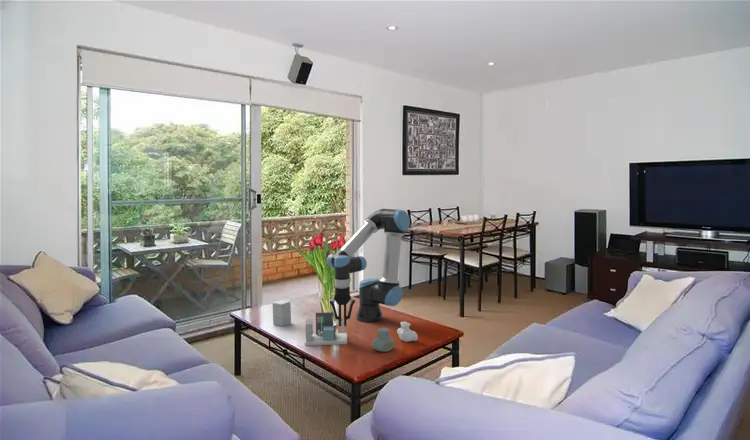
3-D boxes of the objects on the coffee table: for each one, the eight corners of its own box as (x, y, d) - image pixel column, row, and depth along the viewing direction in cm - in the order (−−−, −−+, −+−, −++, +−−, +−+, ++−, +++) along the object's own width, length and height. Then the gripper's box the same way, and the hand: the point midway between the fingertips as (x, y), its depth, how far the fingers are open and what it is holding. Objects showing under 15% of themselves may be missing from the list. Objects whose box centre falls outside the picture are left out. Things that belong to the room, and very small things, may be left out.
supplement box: (291, 323, 261) (291, 301, 259) (282, 326, 254) (281, 304, 253) (281, 320, 265) (281, 299, 263) (272, 324, 258) (272, 302, 257)
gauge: (335, 333, 237) (335, 316, 236) (335, 339, 229) (335, 321, 228) (318, 334, 236) (318, 316, 236) (318, 340, 228) (317, 321, 227)
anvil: (312, 335, 235) (312, 318, 234) (312, 341, 227) (311, 323, 226) (306, 336, 235) (306, 319, 234) (305, 341, 227) (305, 324, 226)
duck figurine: (396, 342, 236) (388, 328, 230) (403, 330, 241) (395, 317, 234) (416, 347, 229) (408, 334, 223) (422, 335, 233) (415, 321, 227)
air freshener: (386, 344, 227) (386, 325, 226) (397, 349, 220) (397, 329, 219) (369, 349, 220) (368, 329, 219) (379, 355, 214) (379, 334, 213)
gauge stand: (346, 335, 240) (346, 311, 238) (347, 344, 228) (347, 318, 227) (306, 337, 238) (305, 312, 237) (304, 345, 226) (304, 319, 225)
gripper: (354, 284, 234) (355, 329, 237) (329, 285, 233) (329, 330, 235) (355, 288, 227) (355, 334, 229) (329, 288, 226) (329, 335, 228)
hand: (342, 332), depth 232 cm, fingers closed
